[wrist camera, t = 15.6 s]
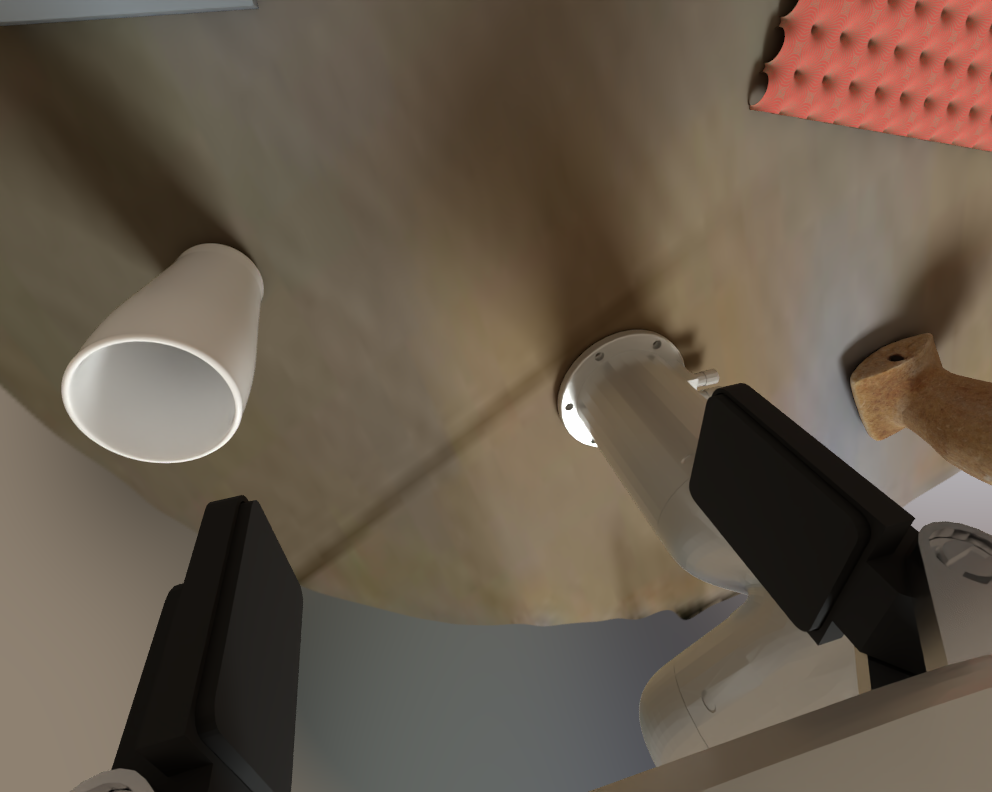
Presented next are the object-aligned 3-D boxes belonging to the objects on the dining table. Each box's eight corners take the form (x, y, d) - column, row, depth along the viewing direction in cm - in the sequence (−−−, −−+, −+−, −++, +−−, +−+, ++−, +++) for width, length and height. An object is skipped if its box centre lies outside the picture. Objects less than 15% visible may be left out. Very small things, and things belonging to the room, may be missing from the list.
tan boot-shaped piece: (946, 382, 61) (1095, 462, 49) (859, 441, 63) (982, 532, 51) (934, 299, 52) (1113, 371, 40) (834, 370, 54) (975, 459, 42)
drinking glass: (173, 210, 30) (65, 310, 18) (288, 253, 33) (261, 362, 21) (153, 307, 33) (49, 448, 21) (262, 338, 36) (224, 478, 24)
